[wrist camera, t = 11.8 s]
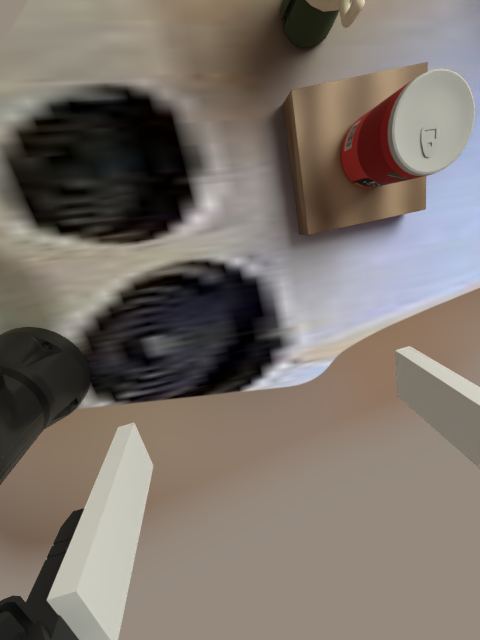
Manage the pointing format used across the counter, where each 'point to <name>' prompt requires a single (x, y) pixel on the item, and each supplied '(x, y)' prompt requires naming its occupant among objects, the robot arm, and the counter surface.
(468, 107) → the canned food
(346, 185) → the walnut base
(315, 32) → the character mug
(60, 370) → the robot arm
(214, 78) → the counter surface
